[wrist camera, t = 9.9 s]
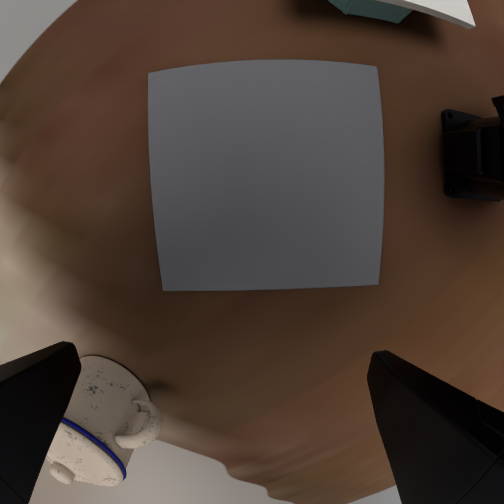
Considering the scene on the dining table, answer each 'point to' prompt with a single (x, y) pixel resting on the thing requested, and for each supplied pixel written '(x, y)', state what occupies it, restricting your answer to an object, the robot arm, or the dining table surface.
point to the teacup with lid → (102, 425)
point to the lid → (441, 10)
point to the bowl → (372, 9)
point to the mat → (267, 174)
